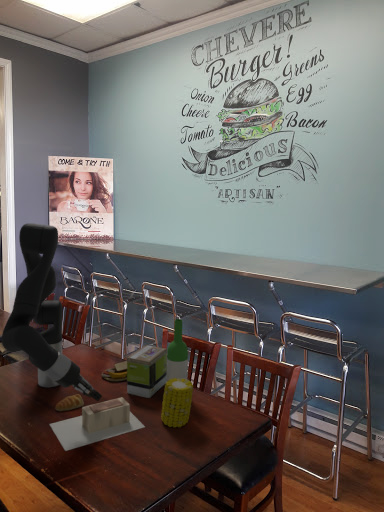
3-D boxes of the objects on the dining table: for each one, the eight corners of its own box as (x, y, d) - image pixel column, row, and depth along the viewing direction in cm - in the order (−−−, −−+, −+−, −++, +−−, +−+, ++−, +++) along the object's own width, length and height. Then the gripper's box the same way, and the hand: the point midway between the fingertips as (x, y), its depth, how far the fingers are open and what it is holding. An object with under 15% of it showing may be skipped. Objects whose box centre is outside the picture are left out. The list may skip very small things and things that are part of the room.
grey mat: (49, 425, 140) (49, 424, 140) (123, 406, 155) (123, 404, 155) (65, 452, 126) (65, 450, 126) (145, 428, 141) (145, 426, 141)
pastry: (60, 415, 147) (60, 405, 147) (51, 408, 152) (51, 398, 151) (85, 407, 154) (85, 397, 153) (75, 400, 158) (75, 390, 158)
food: (166, 417, 151) (193, 424, 148) (152, 426, 140) (181, 434, 137) (172, 373, 152) (200, 379, 149) (160, 378, 141) (189, 385, 138)
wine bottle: (172, 403, 157) (174, 324, 153) (162, 395, 164) (164, 318, 160) (190, 399, 162) (193, 321, 157) (179, 390, 168) (182, 315, 164)
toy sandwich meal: (100, 371, 184) (100, 360, 184) (132, 368, 188) (132, 358, 187) (102, 383, 172) (102, 372, 172) (136, 381, 176) (136, 370, 175)
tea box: (145, 378, 178) (145, 344, 176) (167, 383, 174) (168, 348, 172) (126, 393, 164) (126, 356, 162) (149, 399, 161) (150, 361, 158)
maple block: (82, 406, 140) (122, 396, 148) (82, 424, 141) (122, 413, 148) (88, 414, 135) (129, 403, 143) (88, 433, 136) (129, 421, 143)
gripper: (76, 366, 127) (115, 396, 135) (63, 352, 138) (99, 380, 146) (58, 387, 125) (99, 416, 133) (46, 371, 135) (84, 399, 144)
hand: (99, 397), depth 140 cm, fingers closed
